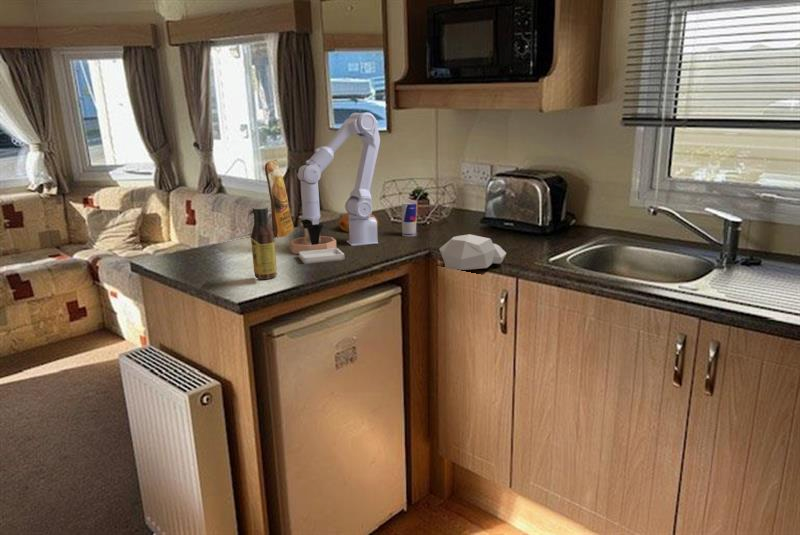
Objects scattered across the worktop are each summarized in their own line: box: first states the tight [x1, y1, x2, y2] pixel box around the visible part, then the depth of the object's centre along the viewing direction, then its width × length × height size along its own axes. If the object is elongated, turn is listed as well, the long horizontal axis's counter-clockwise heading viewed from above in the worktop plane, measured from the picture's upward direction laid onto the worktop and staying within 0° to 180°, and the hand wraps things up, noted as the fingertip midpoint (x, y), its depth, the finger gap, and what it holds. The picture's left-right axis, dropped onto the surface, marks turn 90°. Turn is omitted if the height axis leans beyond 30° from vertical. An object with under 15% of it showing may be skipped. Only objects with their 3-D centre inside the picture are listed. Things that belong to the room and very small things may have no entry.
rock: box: [439, 233, 507, 271], centre depth 176 cm, size 18×20×10 cm
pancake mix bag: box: [264, 159, 294, 239], centre depth 223 cm, size 7×19×28 cm, turn 172°
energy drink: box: [401, 201, 418, 238], centre depth 219 cm, size 5×5×12 cm
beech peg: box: [303, 227, 321, 245], centre depth 201 cm, size 4×4×7 cm
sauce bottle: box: [250, 205, 278, 280], centre depth 166 cm, size 6×6×20 cm
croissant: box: [337, 212, 379, 233], centre depth 230 cm, size 14×16×8 cm
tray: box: [298, 247, 346, 265], centre depth 189 cm, size 13×10×2 cm
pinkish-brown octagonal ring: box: [289, 235, 338, 255], centre depth 201 cm, size 15×15×3 cm
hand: (312, 242), depth 201 cm, fingers open, 7 cm apart
